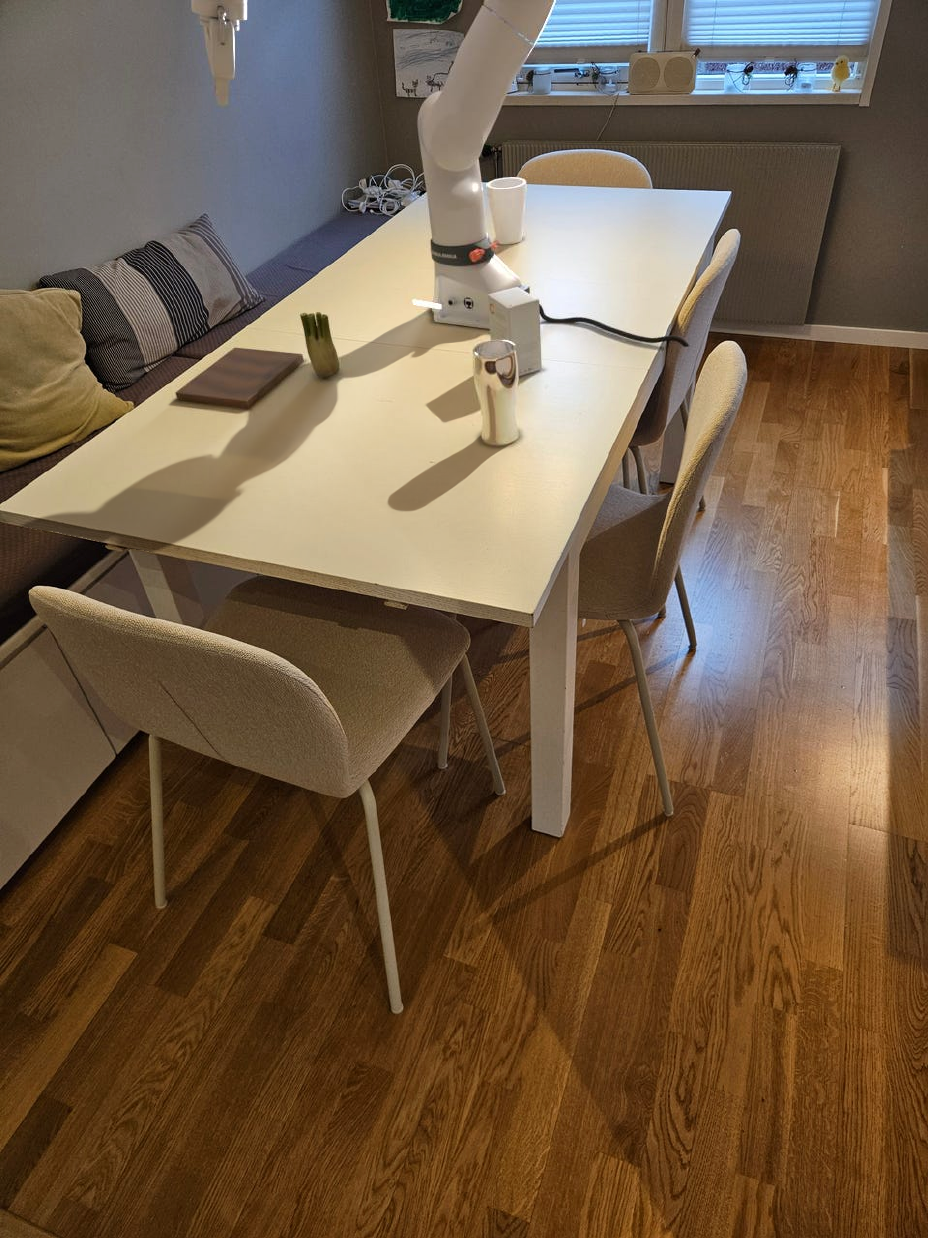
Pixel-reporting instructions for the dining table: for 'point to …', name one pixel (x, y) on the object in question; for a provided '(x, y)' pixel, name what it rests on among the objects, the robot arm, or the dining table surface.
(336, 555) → the dining table surface
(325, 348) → the fennel bulb
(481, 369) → the beer glass
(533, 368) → the small box
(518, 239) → the foam cup
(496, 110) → the robot arm
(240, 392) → the cutting board
